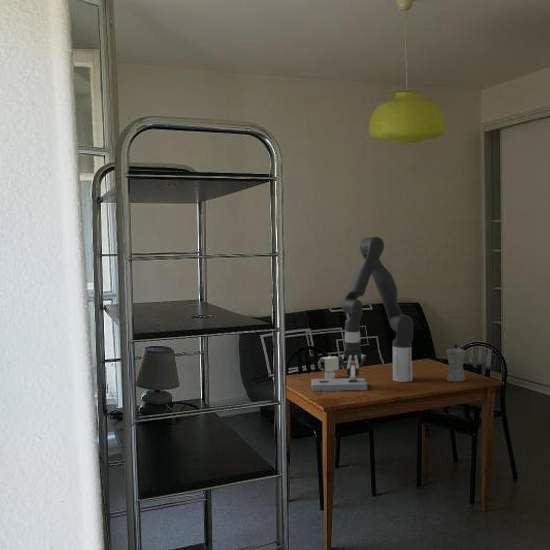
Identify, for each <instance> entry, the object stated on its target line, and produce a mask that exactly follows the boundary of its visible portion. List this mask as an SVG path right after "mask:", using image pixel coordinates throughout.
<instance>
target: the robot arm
mask: <svg viewBox="0 0 550 550" xmlns="http://www.w3.org/2000/svg"><path fill="white" fill-rule="evenodd" d="M384 248H385V242H384V240H383V239H382V238H381V237H379V236H370V237H369V236H368V237H364V238H362V239H361V241H360V242H359V250H360V253H361V256H363V258H364V262H363V264H362V265H361V266H360V268H359V269H358V270H357V272H356V274H355V275H354V277H353V281H352V283H351V287H350V289H349V290H348V292H347V294H346V295H345V296H344V299H343V300H342V304H341V310H342V311H343V313H345V314H350V317H349V318H346V319H345V323H344V352H343V354H339V355H338V357H339V358H340V361H341V363H342V367H343V368H346V375H347V376H348V377H350V363H351V360H355V363H356V377H358V375H359V373H360V368H363V366H364V364H365V362H366V359H367V355H366V354H363V353H362V352H361V327H360V326H361V320H362V315H363V312H364V305H363V303H362V301H360V300H359V298H361V297H363V296H364V295H365V293H366V289H367V286H368V283H369V280H370V278H371V277H372V278H373V281H374V284H375V286H376V288H377V292H378V295H379V297H380V299H381V302H382V304H383V306H384V310H385V311H386V314H387V319H388V322H389V323H388V324H389V326H390V328H391V329H392V330H393V331H394V332H395V333H396V334H395V339H393V340H392V380H393V381H394V382H397V383H398V382H399V383H407V382H408V383H409V382H413V361H412V342H413V341H414V322H413V319H412V318H411V316H409V315H406V314H403V312H402V309H401V308H400V304H399V303H398V302H399V300H398V294H399V293H398V288H397V284H396V281H395V279H394V276H393V275H392V273H391V272H390V271H389V270H388V269H387V268H386V267H385V265H384V264H383V263H382V261H381V259H380V258H381V256H382V254H383V251H384ZM345 358H346V360H347V361H346V363H345V361H344V359H345ZM360 358H361V361H360V363H359V359H360ZM349 361H350V362H349ZM356 361H357V362H356Z"/></svg>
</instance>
